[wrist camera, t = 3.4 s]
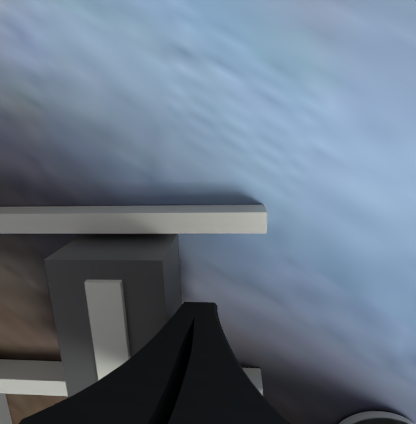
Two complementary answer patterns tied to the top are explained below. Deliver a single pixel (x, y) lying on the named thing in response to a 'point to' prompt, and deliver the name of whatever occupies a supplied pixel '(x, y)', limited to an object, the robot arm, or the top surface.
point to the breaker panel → (111, 224)
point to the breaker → (110, 299)
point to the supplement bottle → (376, 418)
